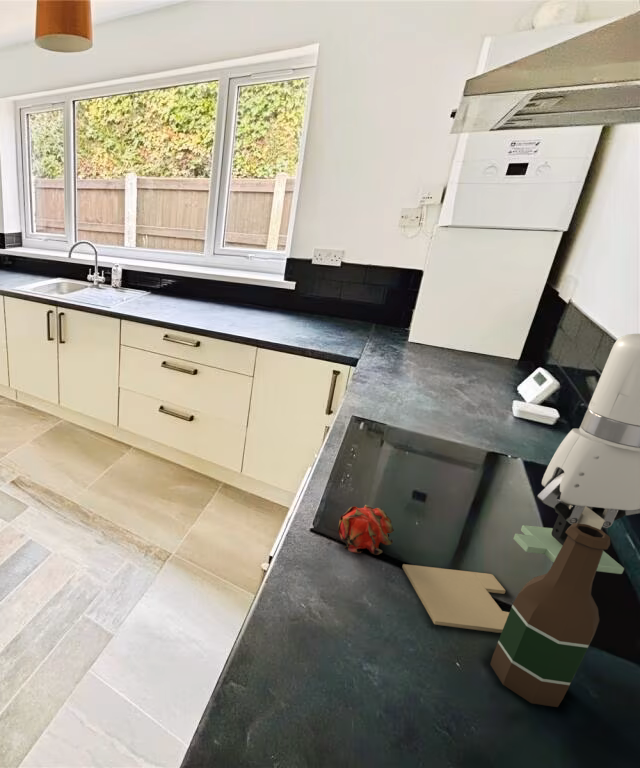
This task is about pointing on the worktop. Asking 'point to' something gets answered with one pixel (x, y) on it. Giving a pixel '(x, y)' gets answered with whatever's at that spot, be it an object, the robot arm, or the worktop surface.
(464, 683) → the worktop surface
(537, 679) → the beer bottle
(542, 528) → the sage pad
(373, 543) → the dragon fruit
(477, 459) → the worktop surface
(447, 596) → the sand mat
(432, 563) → the worktop surface
